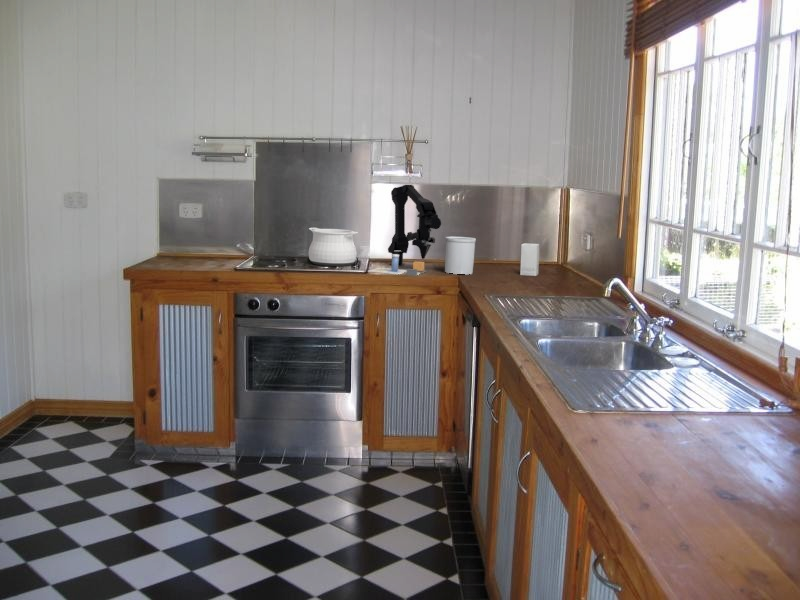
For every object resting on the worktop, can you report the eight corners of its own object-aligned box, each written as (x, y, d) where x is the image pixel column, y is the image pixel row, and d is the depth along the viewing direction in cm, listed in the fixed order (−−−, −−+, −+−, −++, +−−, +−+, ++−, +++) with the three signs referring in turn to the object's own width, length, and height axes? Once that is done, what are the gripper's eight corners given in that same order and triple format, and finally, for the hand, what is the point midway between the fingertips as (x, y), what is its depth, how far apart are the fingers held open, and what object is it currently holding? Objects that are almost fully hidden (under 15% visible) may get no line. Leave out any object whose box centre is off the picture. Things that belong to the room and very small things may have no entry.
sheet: (378, 268, 441) (378, 267, 441) (409, 271, 436) (409, 270, 436) (367, 271, 427) (367, 270, 427) (398, 274, 422) (398, 273, 422)
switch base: (415, 271, 435) (416, 265, 434) (425, 272, 433) (425, 266, 433) (406, 274, 422) (406, 268, 421) (416, 275, 420) (416, 269, 420)
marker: (392, 270, 431) (393, 253, 429) (398, 271, 430) (400, 254, 429) (390, 271, 428) (391, 254, 426) (396, 272, 427) (398, 255, 425)
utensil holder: (448, 270, 446) (450, 235, 443) (477, 272, 441) (479, 237, 438) (439, 273, 432) (441, 237, 429) (469, 276, 427) (471, 240, 424)
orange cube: (415, 269, 433) (415, 261, 432) (424, 270, 432) (424, 262, 431) (412, 270, 429) (413, 262, 429) (421, 271, 428) (421, 262, 427)
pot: (295, 263, 448) (296, 228, 445) (324, 259, 468) (325, 226, 466) (340, 269, 433) (342, 233, 430) (368, 264, 454) (369, 230, 451)
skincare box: (538, 274, 442) (540, 243, 439) (536, 276, 436) (538, 245, 433) (521, 273, 444) (523, 242, 442) (519, 275, 438) (521, 243, 436)
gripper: (415, 224, 444) (413, 255, 447) (402, 227, 427) (401, 259, 430) (436, 226, 441) (434, 257, 444) (424, 228, 423) (423, 261, 426)
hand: (423, 258), depth 436 cm, fingers closed
